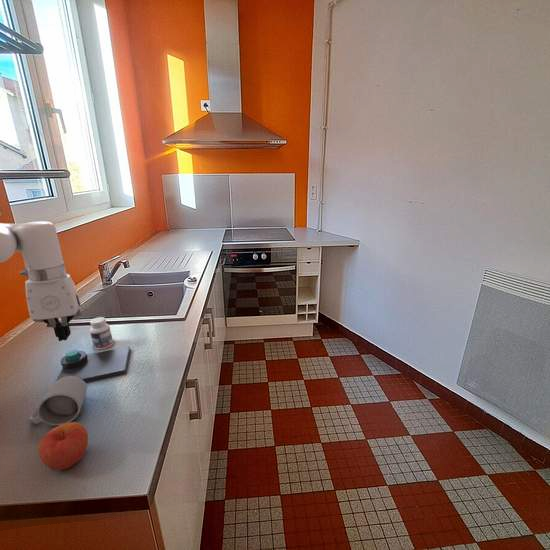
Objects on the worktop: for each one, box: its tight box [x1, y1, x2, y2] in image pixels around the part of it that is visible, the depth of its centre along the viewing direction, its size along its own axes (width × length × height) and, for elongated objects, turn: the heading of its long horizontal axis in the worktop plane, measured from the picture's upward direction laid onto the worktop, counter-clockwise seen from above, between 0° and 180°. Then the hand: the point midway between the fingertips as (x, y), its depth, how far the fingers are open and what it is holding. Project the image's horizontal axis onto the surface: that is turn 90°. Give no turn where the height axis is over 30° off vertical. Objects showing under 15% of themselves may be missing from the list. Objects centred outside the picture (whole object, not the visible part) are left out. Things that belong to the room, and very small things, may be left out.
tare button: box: [65, 349, 80, 361], centre depth 82 cm, size 3×3×2 cm
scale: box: [55, 346, 131, 384], centre depth 82 cm, size 16×12×3 cm
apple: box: [38, 421, 89, 471], centre depth 55 cm, size 7×7×8 cm
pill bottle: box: [89, 316, 114, 351], centre depth 92 cm, size 5×5×9 cm
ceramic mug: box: [29, 376, 88, 426], centre depth 66 cm, size 11×8×8 cm
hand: (64, 338), depth 80 cm, fingers closed
